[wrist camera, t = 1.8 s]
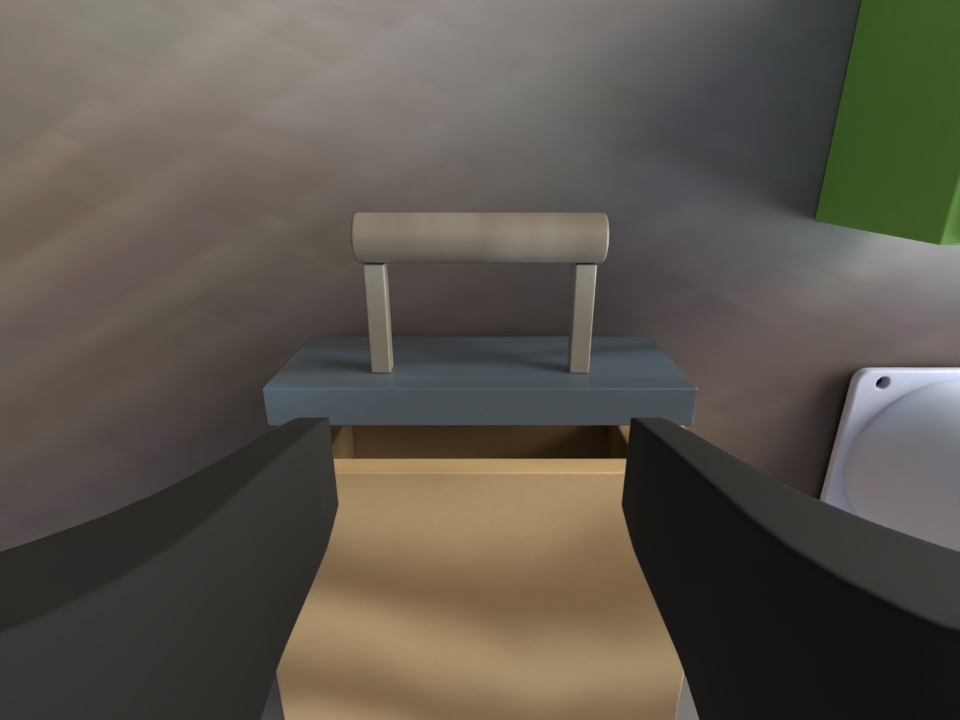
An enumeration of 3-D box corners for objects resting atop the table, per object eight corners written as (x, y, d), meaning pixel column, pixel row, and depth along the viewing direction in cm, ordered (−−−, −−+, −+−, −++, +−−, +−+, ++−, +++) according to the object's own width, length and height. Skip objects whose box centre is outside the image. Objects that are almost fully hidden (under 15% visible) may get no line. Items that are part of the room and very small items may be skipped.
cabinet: (308, 381, 21) (239, 472, 15) (651, 381, 21) (720, 472, 15) (348, 713, 28) (311, 871, 22) (611, 713, 28) (648, 871, 22)
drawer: (295, 202, 18) (234, 217, 14) (664, 202, 18) (725, 217, 14) (350, 682, 26) (323, 792, 21) (609, 682, 26) (636, 792, 21)
